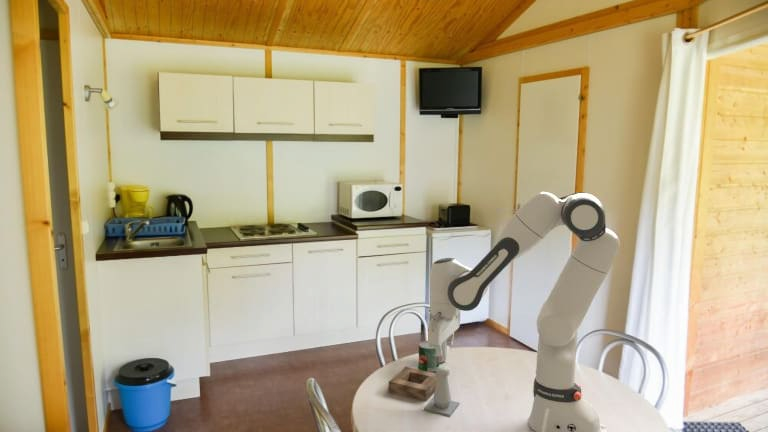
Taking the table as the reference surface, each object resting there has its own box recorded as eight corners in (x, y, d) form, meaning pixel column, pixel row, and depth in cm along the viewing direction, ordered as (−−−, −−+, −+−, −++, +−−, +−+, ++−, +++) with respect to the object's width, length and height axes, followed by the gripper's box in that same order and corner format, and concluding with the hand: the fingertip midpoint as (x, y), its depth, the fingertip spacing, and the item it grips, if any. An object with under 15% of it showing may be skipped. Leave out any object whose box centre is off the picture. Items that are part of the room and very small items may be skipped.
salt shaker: (450, 410, 161) (451, 371, 160) (432, 408, 162) (433, 370, 161) (451, 402, 167) (452, 364, 165) (434, 400, 168) (435, 362, 167)
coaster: (459, 404, 167) (459, 402, 167) (450, 416, 159) (450, 414, 159) (434, 398, 171) (434, 396, 171) (423, 409, 163) (423, 408, 163)
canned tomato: (413, 371, 192) (414, 344, 190) (427, 366, 197) (428, 339, 196) (429, 378, 186) (429, 350, 185) (443, 372, 191) (444, 344, 190)
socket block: (440, 385, 181) (441, 374, 180) (426, 401, 168) (426, 390, 168) (405, 377, 187) (405, 366, 187) (388, 392, 175) (388, 381, 174)
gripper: (441, 318, 150) (442, 363, 152) (463, 301, 168) (463, 341, 170) (422, 316, 153) (422, 360, 155) (445, 299, 171) (446, 339, 173)
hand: (444, 350), depth 162 cm, fingers open, 8 cm apart
